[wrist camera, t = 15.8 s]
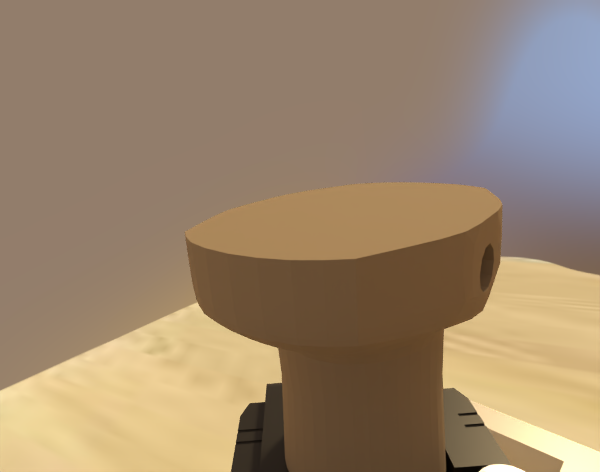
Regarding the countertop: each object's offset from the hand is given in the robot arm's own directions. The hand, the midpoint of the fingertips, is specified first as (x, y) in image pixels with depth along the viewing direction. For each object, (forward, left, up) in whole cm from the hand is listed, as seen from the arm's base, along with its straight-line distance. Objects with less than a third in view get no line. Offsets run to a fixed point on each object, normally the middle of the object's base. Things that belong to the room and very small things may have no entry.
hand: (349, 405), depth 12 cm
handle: (+2, +2, -9) cm, 9 cm away
